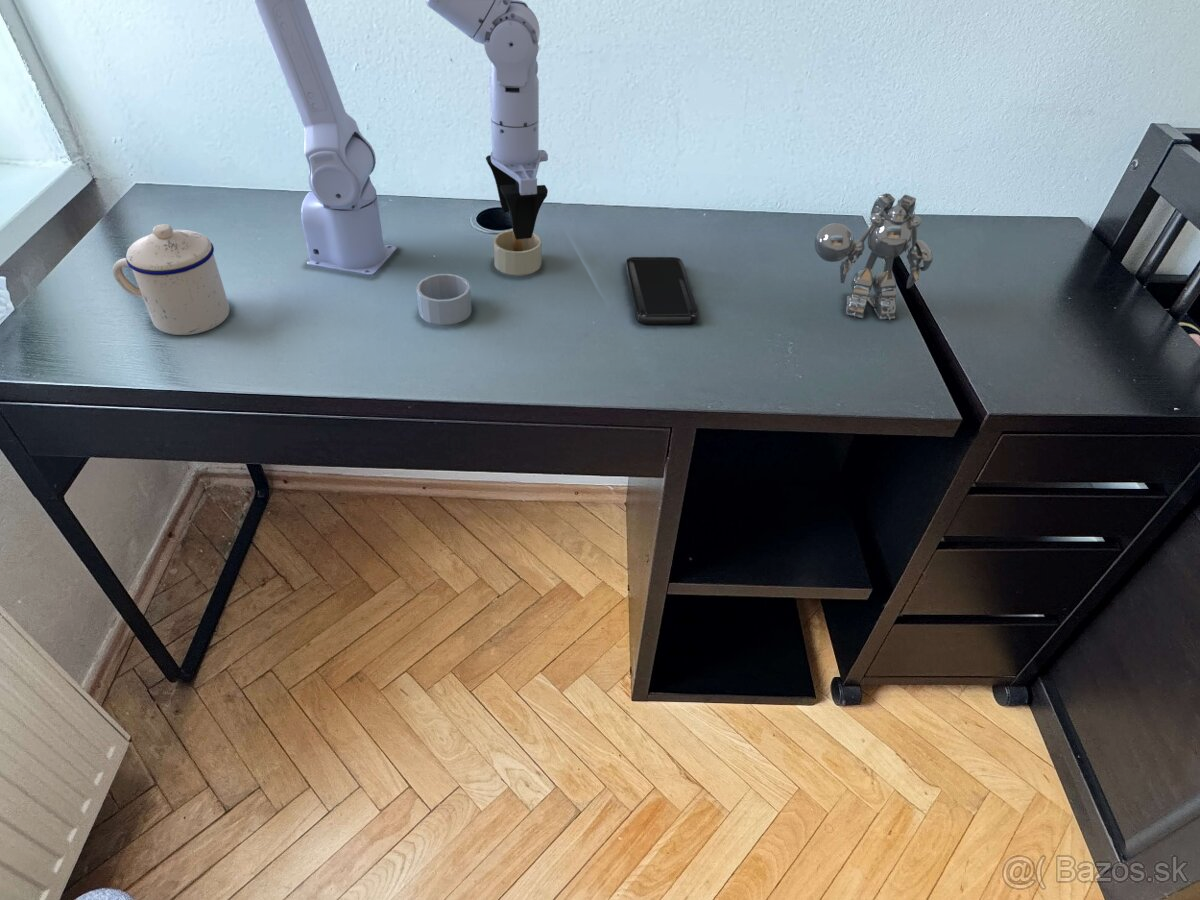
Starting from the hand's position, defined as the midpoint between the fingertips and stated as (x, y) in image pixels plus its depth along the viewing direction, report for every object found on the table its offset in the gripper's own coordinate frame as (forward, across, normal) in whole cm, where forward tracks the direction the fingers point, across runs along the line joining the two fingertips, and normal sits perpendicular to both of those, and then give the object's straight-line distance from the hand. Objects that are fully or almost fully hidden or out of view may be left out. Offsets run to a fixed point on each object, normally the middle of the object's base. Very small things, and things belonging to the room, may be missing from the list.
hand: (516, 223), depth 105 cm
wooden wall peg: (+6, 0, 0) cm, 6 cm away
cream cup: (+6, 0, 0) cm, 6 cm away
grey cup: (+6, -10, +11) cm, 16 cm away
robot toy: (+6, -20, -41) cm, 46 cm away
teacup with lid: (+6, -3, +42) cm, 43 cm away
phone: (+6, -11, -17) cm, 21 cm away
